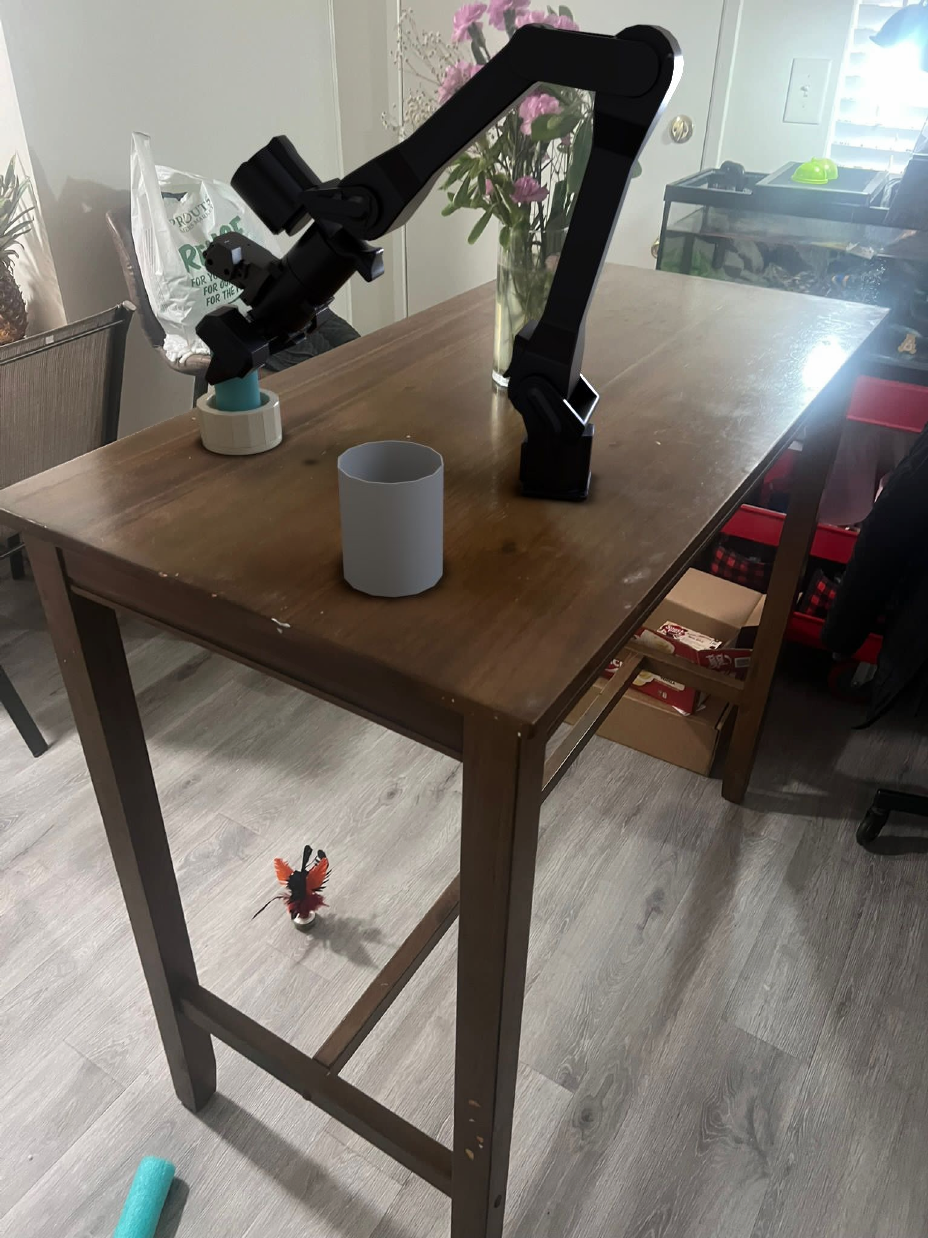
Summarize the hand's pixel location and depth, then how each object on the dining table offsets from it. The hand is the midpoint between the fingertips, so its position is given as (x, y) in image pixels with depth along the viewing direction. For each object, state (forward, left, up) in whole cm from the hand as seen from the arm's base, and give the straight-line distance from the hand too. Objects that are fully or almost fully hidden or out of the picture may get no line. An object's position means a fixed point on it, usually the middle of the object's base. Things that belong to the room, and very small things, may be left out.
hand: (222, 372), depth 96 cm
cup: (-24, +24, -7) cm, 35 cm away
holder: (-1, 0, -7) cm, 7 cm away
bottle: (-1, 0, -6) cm, 7 cm away
